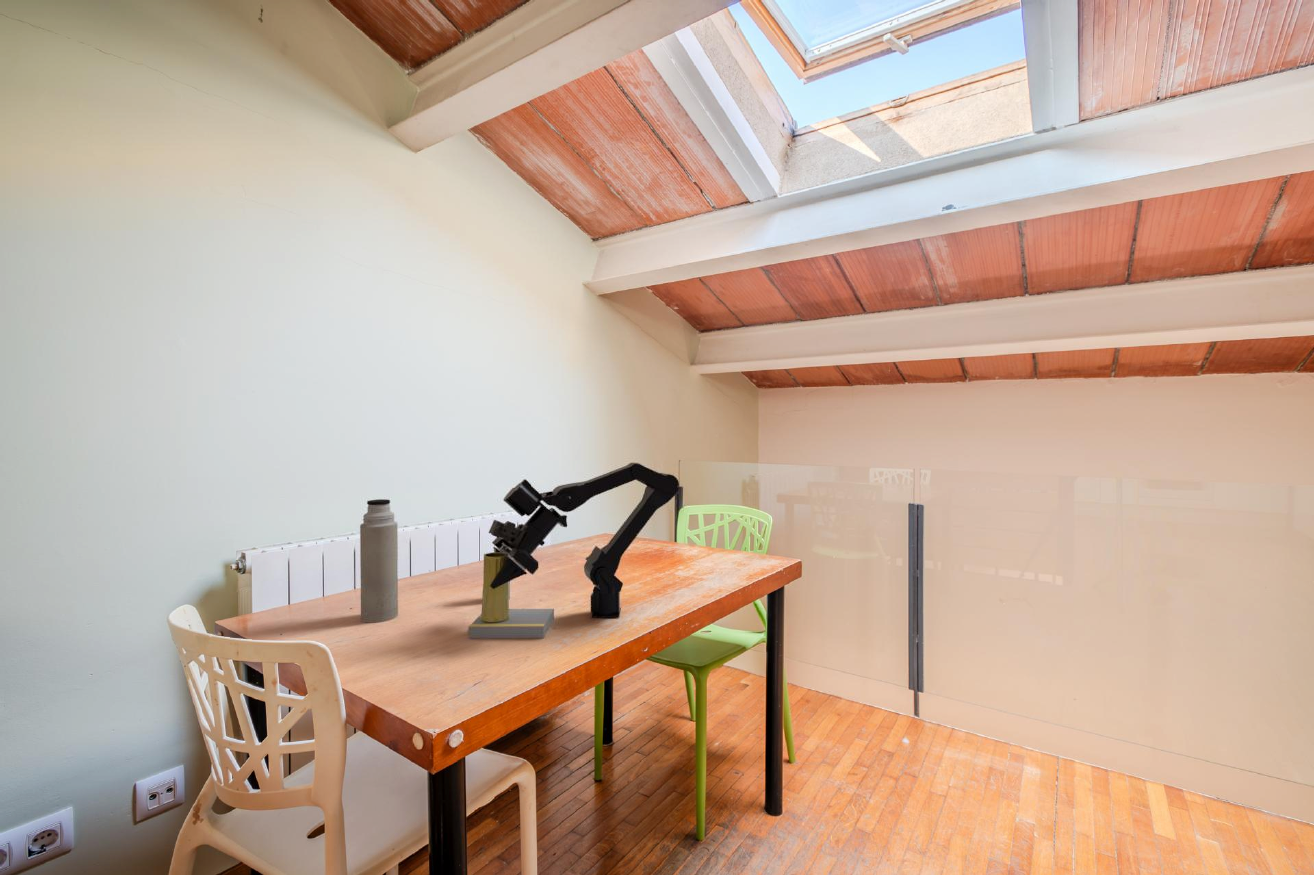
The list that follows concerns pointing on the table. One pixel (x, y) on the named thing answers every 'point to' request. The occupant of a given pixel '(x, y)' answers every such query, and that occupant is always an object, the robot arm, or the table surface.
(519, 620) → the gray and yellow box
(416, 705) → the table surface
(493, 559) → the vase
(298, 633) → the table surface
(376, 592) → the thermos bottle
